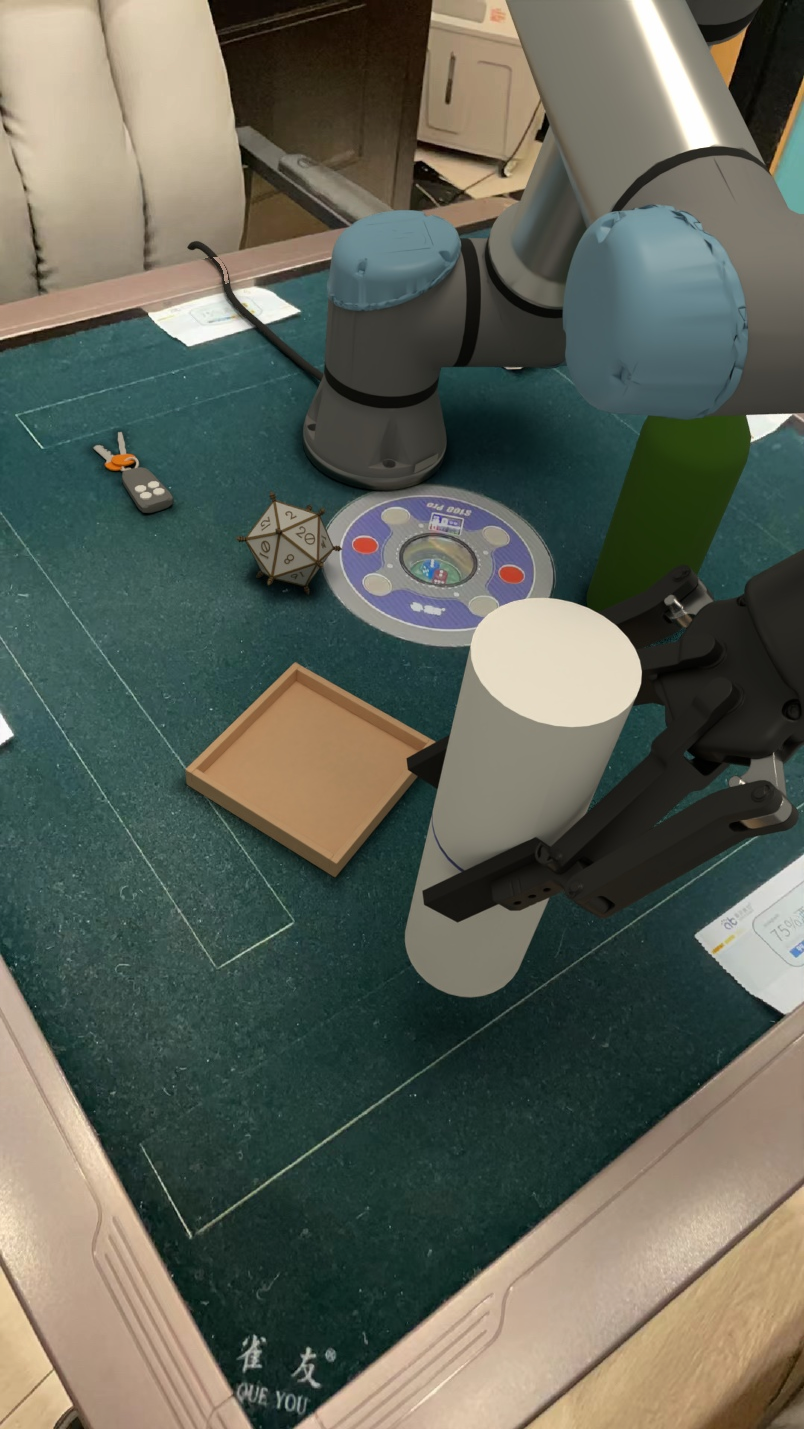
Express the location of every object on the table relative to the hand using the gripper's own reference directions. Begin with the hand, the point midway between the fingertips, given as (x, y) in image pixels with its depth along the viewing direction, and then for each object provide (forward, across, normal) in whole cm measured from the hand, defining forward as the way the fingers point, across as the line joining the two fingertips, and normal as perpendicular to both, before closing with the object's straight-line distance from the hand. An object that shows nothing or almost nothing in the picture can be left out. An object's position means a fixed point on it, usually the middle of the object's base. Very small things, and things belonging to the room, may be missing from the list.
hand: (431, 837), depth 53 cm
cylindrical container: (+6, 0, -11) cm, 12 cm away
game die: (+21, +44, -13) cm, 51 cm away
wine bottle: (-2, +40, -36) cm, 54 cm away
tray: (+20, +22, -14) cm, 32 cm away
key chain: (+32, +59, -2) cm, 67 cm away
